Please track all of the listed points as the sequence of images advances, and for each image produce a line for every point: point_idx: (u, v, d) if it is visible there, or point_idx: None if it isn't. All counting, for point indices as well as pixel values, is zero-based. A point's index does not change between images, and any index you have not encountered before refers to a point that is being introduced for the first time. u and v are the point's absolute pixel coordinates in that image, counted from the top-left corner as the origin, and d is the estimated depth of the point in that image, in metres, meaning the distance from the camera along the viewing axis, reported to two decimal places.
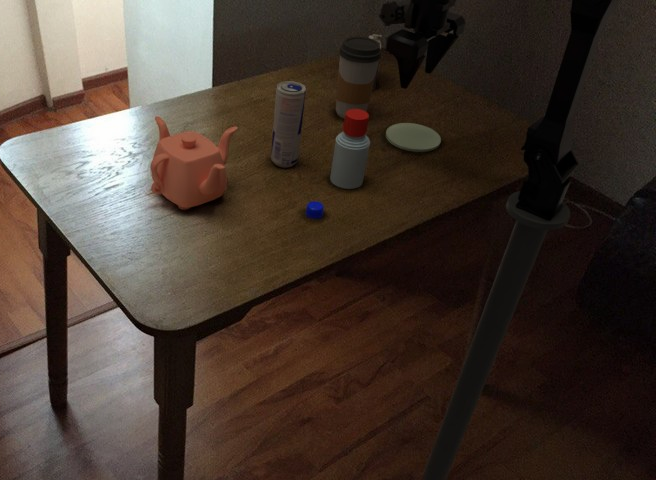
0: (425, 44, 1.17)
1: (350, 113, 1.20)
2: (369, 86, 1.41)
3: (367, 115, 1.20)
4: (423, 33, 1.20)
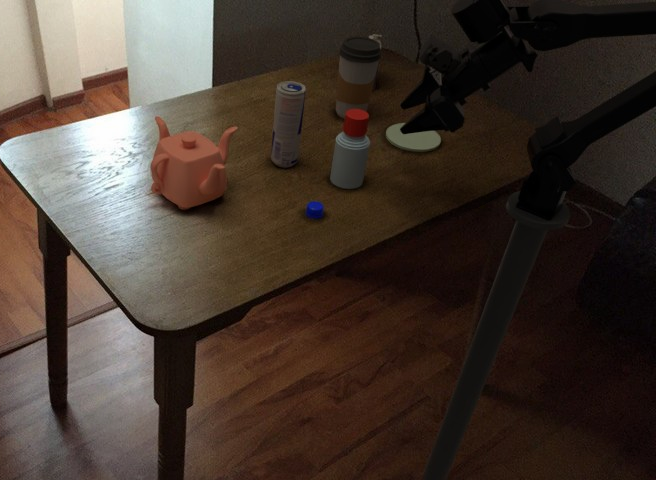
0: None
1: (350, 113, 1.20)
2: (369, 86, 1.41)
3: (367, 115, 1.20)
4: (453, 96, 1.12)
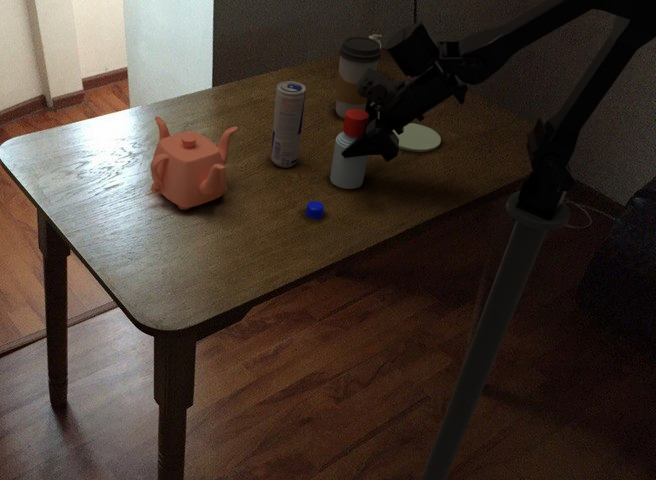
0: None
1: (350, 113, 1.20)
2: None
3: (367, 115, 1.19)
4: (390, 126, 1.17)
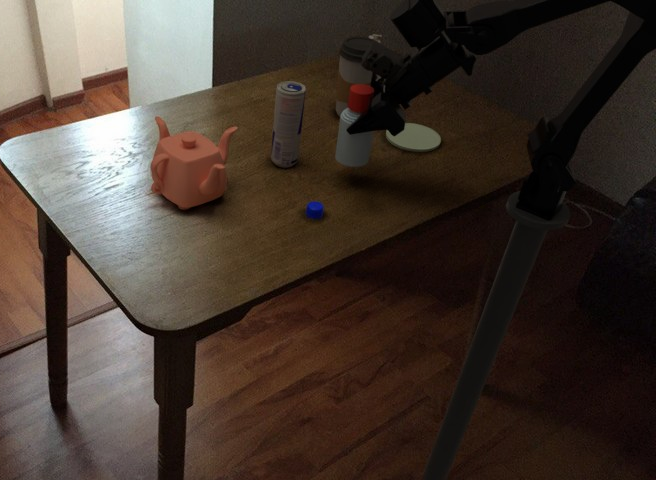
0: None
1: (355, 88, 1.17)
2: None
3: (372, 90, 1.17)
4: (396, 101, 1.14)
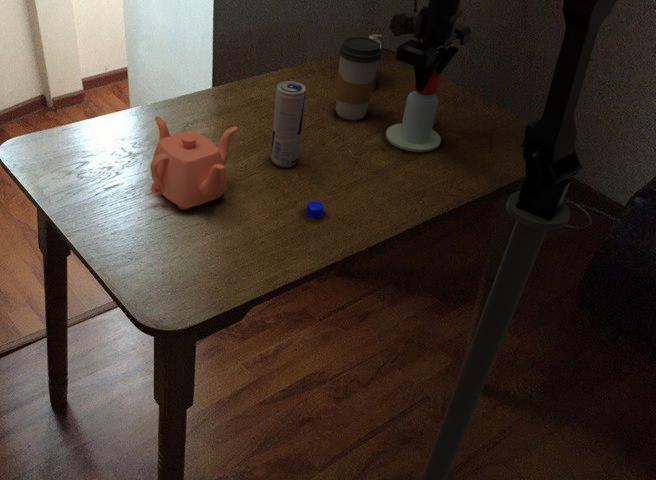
0: (434, 53, 1.23)
1: None
2: (369, 86, 1.41)
3: (435, 77, 1.32)
4: (431, 43, 1.26)
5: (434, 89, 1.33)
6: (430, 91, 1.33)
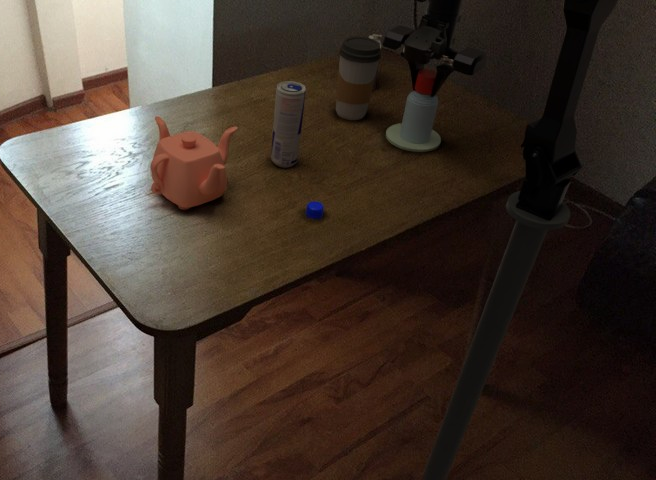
0: None
1: (424, 75, 1.32)
2: (369, 86, 1.41)
3: (434, 71, 1.34)
4: (450, 48, 1.28)
5: None
6: None
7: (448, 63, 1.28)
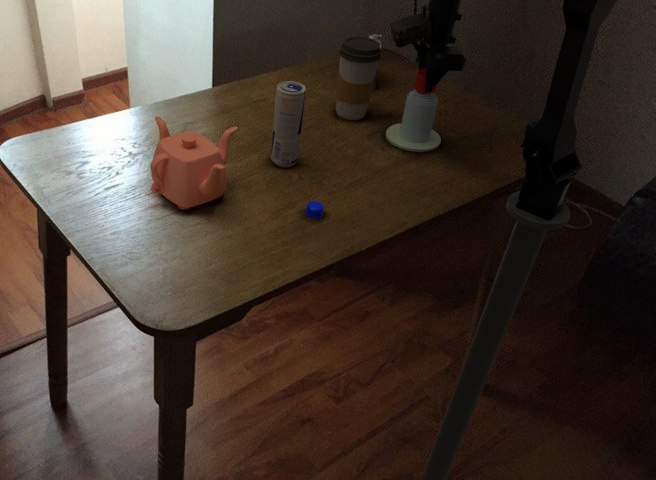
0: None
1: None
2: (369, 85, 1.41)
3: None
4: (443, 44, 1.26)
5: None
6: None
7: None
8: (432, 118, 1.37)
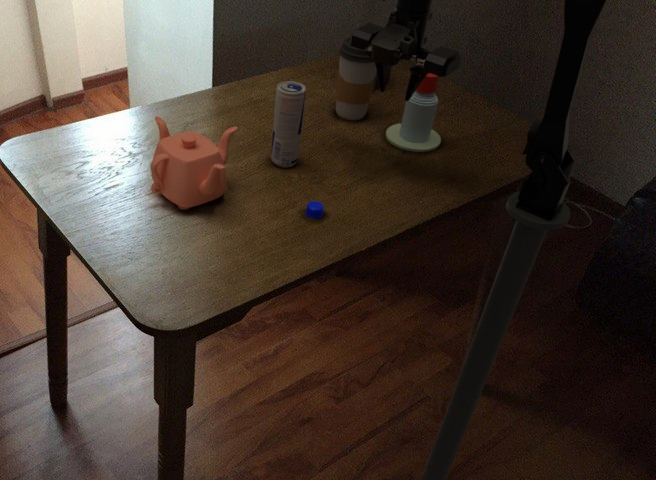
0: None
1: (433, 74, 1.32)
2: (369, 86, 1.41)
3: None
4: (421, 47, 1.19)
5: None
6: None
7: (422, 65, 1.18)
8: (432, 118, 1.37)
